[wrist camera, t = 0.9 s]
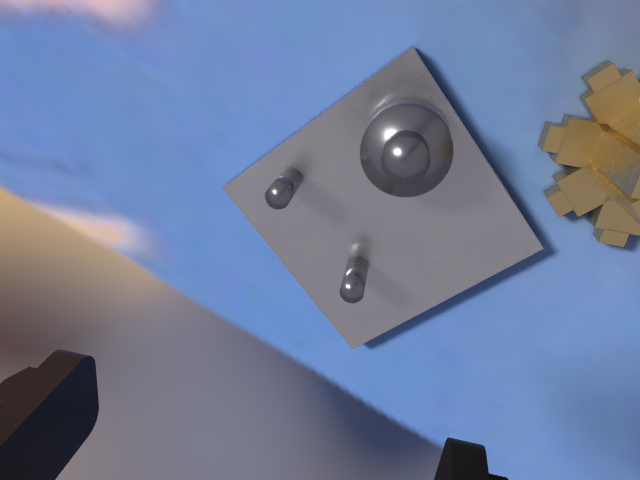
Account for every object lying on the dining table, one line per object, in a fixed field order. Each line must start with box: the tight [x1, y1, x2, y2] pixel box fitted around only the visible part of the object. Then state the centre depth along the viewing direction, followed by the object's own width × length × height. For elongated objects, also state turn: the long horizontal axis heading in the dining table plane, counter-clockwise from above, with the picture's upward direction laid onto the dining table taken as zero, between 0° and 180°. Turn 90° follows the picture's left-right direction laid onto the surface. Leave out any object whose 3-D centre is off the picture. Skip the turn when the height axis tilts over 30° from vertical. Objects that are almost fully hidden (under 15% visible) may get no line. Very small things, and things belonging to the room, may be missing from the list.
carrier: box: [223, 45, 544, 349], centre depth 31 cm, size 14×14×6 cm
